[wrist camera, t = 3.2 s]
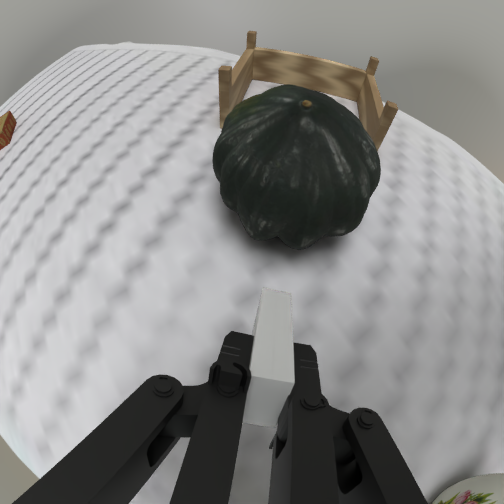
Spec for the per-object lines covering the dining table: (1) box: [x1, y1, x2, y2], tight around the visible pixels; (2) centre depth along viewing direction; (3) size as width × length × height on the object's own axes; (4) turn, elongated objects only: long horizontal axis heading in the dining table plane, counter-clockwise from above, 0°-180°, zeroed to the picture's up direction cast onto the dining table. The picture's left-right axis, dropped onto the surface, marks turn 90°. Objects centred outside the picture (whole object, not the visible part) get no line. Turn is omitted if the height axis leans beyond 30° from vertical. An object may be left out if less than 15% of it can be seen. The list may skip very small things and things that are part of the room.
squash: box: [213, 84, 381, 250], centre depth 23 cm, size 14×15×15 cm
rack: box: [219, 31, 398, 151], centre depth 33 cm, size 20×16×9 cm
